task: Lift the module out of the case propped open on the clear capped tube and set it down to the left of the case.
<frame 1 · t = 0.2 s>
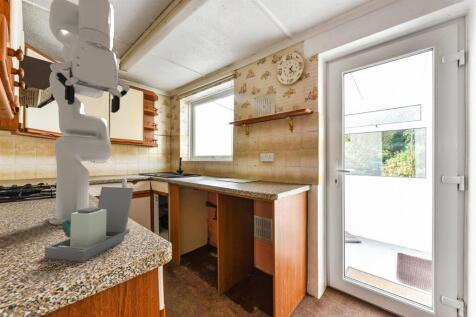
hand: (94, 108, 52), 36 cm above the counter, tool pointing down, fingers open, 9 cm apart
case: (88, 251, 49), on the counter
clear capped tube: (123, 235, 59), on the counter
lid: (114, 208, 57), point 9 cm above the counter, hinge at 103.0°
digital multimeter: (80, 231, 64), on the counter
module: (88, 247, 49), point 1 cm above the counter, touching case
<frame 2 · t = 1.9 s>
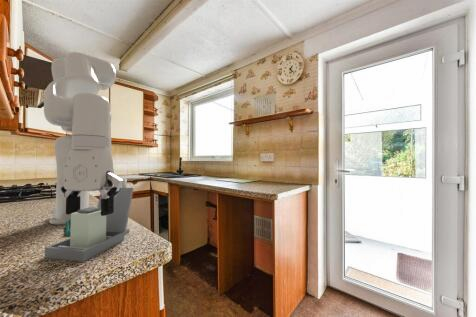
hand: (89, 213, 49), 9 cm above the counter, tool pointing down, fingers open, 9 cm apart
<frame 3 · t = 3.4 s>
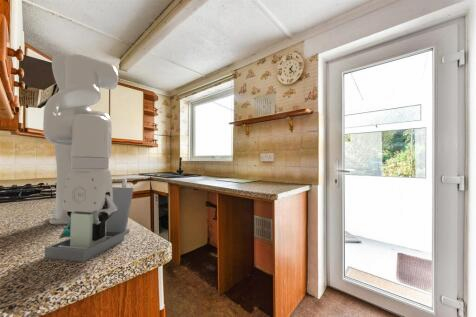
hand: (88, 237, 49), 3 cm above the counter, tool pointing down, fingers closed on module, 5 cm apart
module: (88, 247, 49), point 1 cm above the counter, touching case, gripper
everything else where it was.
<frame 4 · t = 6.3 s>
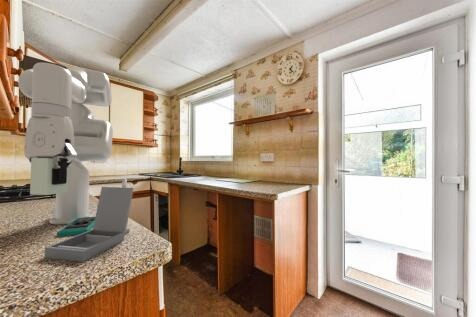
hand: (50, 183, 51), 17 cm above the counter, tool pointing down, fingers closed on module, 5 cm apart
module: (49, 193, 51), point 14 cm above the counter, touching gripper
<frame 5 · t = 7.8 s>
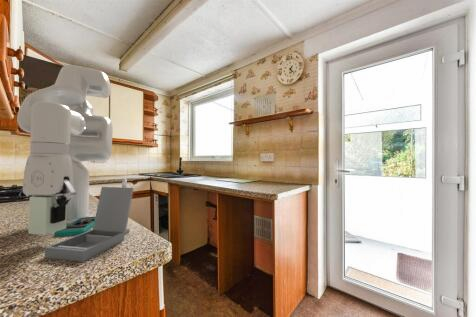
hand: (48, 220, 51), 7 cm above the counter, tool pointing down, fingers closed on module, 5 cm apart
module: (48, 230, 51), point 4 cm above the counter, touching gripper
when the fingers open (4 cm above the counter, at t = 9.3 s): module drops 1 cm, on the counter.
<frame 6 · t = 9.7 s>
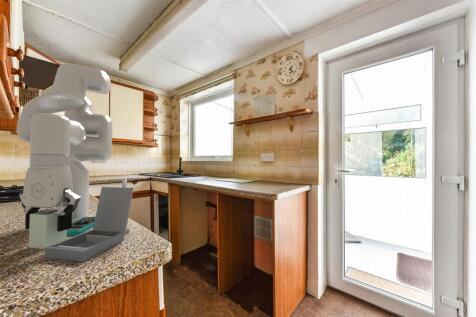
hand: (48, 228, 51), 5 cm above the counter, tool pointing down, fingers open, 9 cm apart
module: (48, 247, 51), on the counter
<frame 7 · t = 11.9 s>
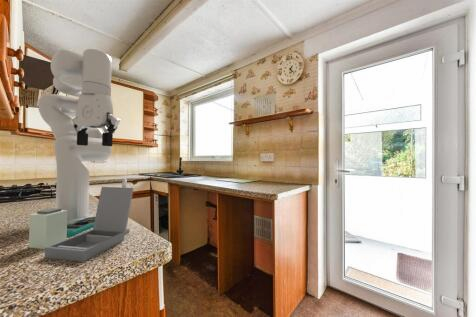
hand: (94, 145, 63), 27 cm above the counter, tool pointing down, fingers open, 9 cm apart
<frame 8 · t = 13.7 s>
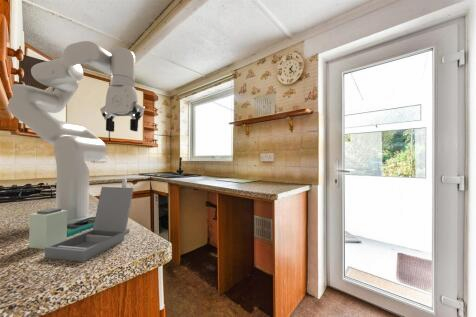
hand: (121, 131, 72), 33 cm above the counter, tool pointing down, fingers open, 9 cm apart
at the end: module inside the target area (0.0 cm from its centre), on the counter; module tilted 0°; module touching counter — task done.
